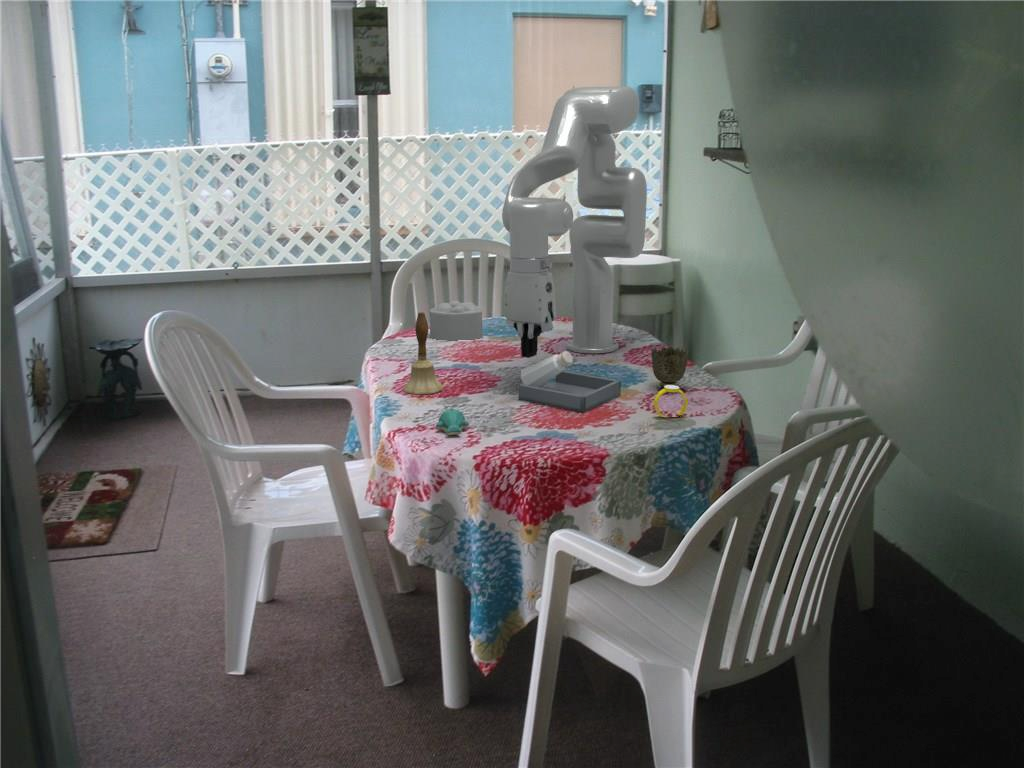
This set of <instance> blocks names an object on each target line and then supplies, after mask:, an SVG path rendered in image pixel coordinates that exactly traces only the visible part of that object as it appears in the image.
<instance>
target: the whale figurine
mask: <svg viewBox="0 0 1024 768" xmlns="http://www.w3.org/2000/svg"><path fill="white" fill-rule="evenodd" d="M438 418H439V419H438V422H437V423H436V424H435V427H436V428H437V430H441V429H442V430H441V431H443V430H444V431H443V432H445V431H446V432H445V434H447V435H449V436H453V435H455V436H456V435H457V436H459V435H461V434H462V433H463V430H464V429H465V428H467V429H468V427H469V426H470V423H469V421H467V420H466V418H465V415H464V414H463V412H462V411H460V410H458V409H455V408H449V409H446V410H444V411H443V412H442V413H441V414H440V416H439V417H438Z"/></svg>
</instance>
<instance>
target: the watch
mask: <svg viewBox="0 0 1024 768" xmlns="http://www.w3.org/2000/svg"><path fill="white" fill-rule="evenodd" d="M667 392H668V393H679V394H681V396H682V397H683V398H682V399H683V405H682V407H681V410H679V411H678V412H677V413H676V414H678V415H682V416H683V415H684V413H685V412H686V410H687V408H688V398H687V396H686V394H685V393H684V392H683V391H682V390H681V389H680V386H678V385H677V386H675V385H666V386H664V389H662V388H661V390H660V391H658V392H657V394H655V397H654V399H653V400H654V401H653V407H654V409H655V412H656V413H657V415H658V416H659V417H661V418H662V417H663V415H664V414H662V413H661V412H660V410H659V407H658V405H659V400H660V399H661V397H662V395H664V394H665V393H667Z"/></svg>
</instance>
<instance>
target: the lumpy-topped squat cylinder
mask: <svg viewBox="0 0 1024 768" xmlns="http://www.w3.org/2000/svg"><path fill="white" fill-rule="evenodd" d="M429 335H430V336H429V337H430V339H431V338H432V339H431V340H433V339H436V340H435V341H438V340H447V341H446V342H449V341H455V342H459V341H458V340H473V341H476V340H475V339H480V338H482V339H483V310H482V309H480V306H479V305H476V304H475V303H473V302H471V301H465V302H460V301H459V300H452V301H450V302H441V303H439V304H438V305H437V306H436V307H432V308H430V310H429ZM480 340H481V339H480Z"/></svg>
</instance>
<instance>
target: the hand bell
mask: <svg viewBox="0 0 1024 768" xmlns="http://www.w3.org/2000/svg"><path fill="white" fill-rule="evenodd" d="M416 317H417V318H416V321H415V329H414V330H415V336H416V340H417V347H418V349H417V351H418V354H417V360H416V361H415V362H413V363H412V364H411V368H410V376H409V379H408V381H407V383H406V384H405V385H404V386H403V388H402V390H403V392H404V393H406V394H411V395H412V394H413V395H430V394H436V393H440V392H442V391H443V390H444V389H443V388H445V387H444V385H443V384H442V383H441V382H440V381H439V379H438V378H437V375H436V372H435V368H434V367H435V365H434V363H433V362H431V361H429V360H427V354H428V353H427V339H428V335H429V324H428V320H427V317H426V314H425V312H423V311H422V312H421V311H420V312H418V313H417V316H416ZM439 391H440V392H439Z"/></svg>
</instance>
